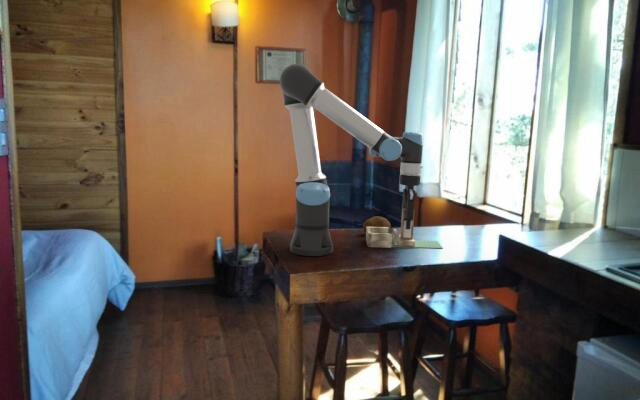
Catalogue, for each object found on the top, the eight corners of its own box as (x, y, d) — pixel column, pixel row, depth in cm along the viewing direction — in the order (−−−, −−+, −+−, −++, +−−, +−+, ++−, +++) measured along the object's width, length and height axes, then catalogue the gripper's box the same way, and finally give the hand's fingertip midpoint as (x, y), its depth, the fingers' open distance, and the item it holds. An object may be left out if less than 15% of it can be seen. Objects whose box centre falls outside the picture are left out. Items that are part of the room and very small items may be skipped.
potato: (358, 234, 209) (358, 215, 208) (382, 231, 216) (383, 213, 214) (370, 238, 202) (371, 219, 201) (394, 235, 209) (395, 216, 208)
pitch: (372, 246, 190) (372, 245, 190) (369, 239, 201) (369, 238, 201) (442, 248, 190) (442, 247, 190) (437, 241, 200) (437, 240, 200)
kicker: (410, 239, 200) (412, 207, 198) (415, 246, 190) (417, 212, 188) (392, 239, 200) (394, 206, 198) (395, 245, 190) (397, 211, 188)
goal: (367, 246, 189) (368, 233, 189) (365, 239, 201) (366, 226, 200) (391, 247, 189) (392, 234, 188) (387, 239, 201) (388, 227, 200)
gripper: (424, 177, 182) (419, 241, 186) (416, 172, 199) (412, 231, 203) (403, 176, 182) (398, 240, 186) (397, 171, 199) (393, 230, 203)
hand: (406, 235), depth 195 cm, fingers closed on kicker, 4 cm apart
